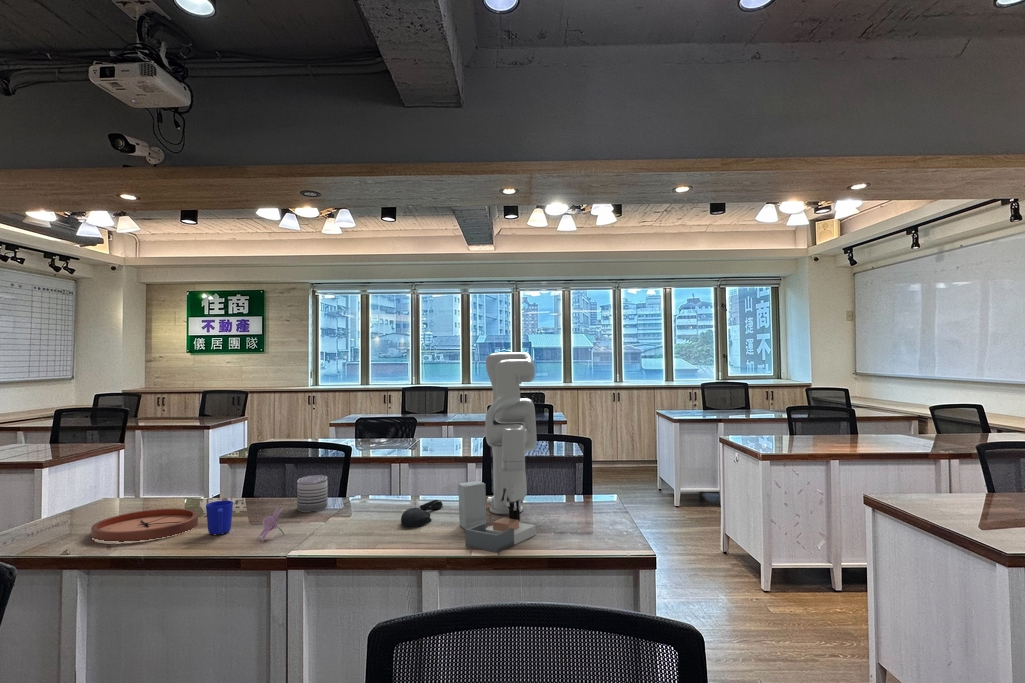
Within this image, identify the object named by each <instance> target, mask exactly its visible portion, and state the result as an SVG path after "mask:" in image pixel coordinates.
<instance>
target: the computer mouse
mask: <svg viewBox="0 0 1025 683" xmlns="http://www.w3.org/2000/svg"><path fill="white" fill-rule="evenodd" d="M443 505H444V504H443V501H441V500H439V499H434V500H430V501H428V502H425V503H423V504H421V505H419V507H410V508H408V509H406V510H405V511H403V512H402V515H401V518H400V523H401V527H403V528H407V529H408V528H409V529H410V528H419V527H423V526H426V525H427V524H429V523H431V522H432V519H431V512H428V511H431V510H435V509H436V510H439V509H442V508H443ZM441 507H442V508H441ZM436 510H435V511H436Z"/></svg>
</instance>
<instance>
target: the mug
mask: <svg viewBox="0 0 1025 683" xmlns="http://www.w3.org/2000/svg"><path fill="white" fill-rule="evenodd" d="M233 507H234V502H233V501H232V500H217V501H216V500H215V501H212V502H209V503H207V504H206V505H205V510H206V521H207V531H208V534H209V533H210V534H209V535H211V534H222V533H226V532H228V533H230V531H231V529H232V523H233V522H232V519H233V509H234V508H233ZM226 534H227V533H226ZM222 535H223V534H222Z"/></svg>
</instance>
